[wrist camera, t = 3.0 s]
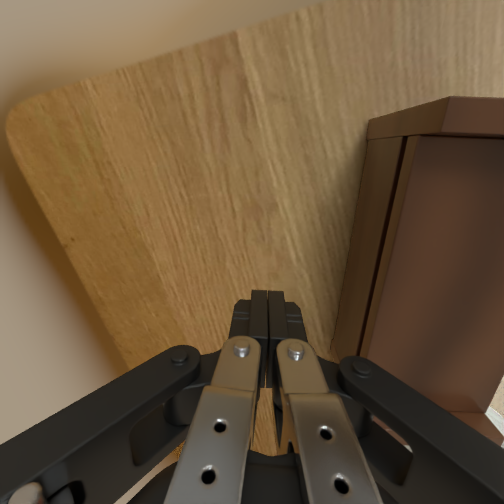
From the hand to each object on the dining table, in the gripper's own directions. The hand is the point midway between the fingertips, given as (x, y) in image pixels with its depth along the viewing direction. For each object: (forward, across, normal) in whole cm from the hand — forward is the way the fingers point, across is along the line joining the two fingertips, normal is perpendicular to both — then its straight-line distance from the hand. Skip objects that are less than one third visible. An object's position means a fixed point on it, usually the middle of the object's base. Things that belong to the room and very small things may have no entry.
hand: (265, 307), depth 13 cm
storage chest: (+8, -10, 0) cm, 13 cm away
